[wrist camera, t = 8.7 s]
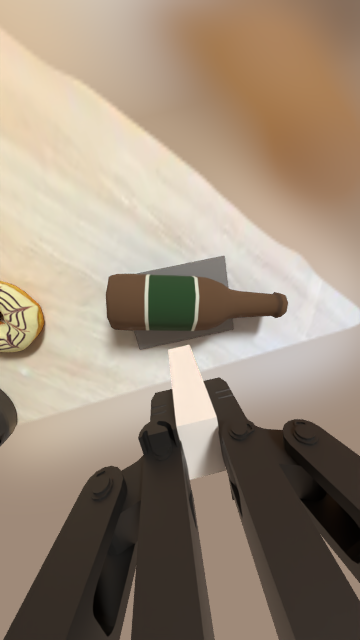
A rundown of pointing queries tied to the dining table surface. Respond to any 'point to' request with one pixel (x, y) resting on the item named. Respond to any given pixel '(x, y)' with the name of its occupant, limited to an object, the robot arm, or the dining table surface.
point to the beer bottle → (182, 303)
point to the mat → (203, 268)
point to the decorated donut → (18, 318)
